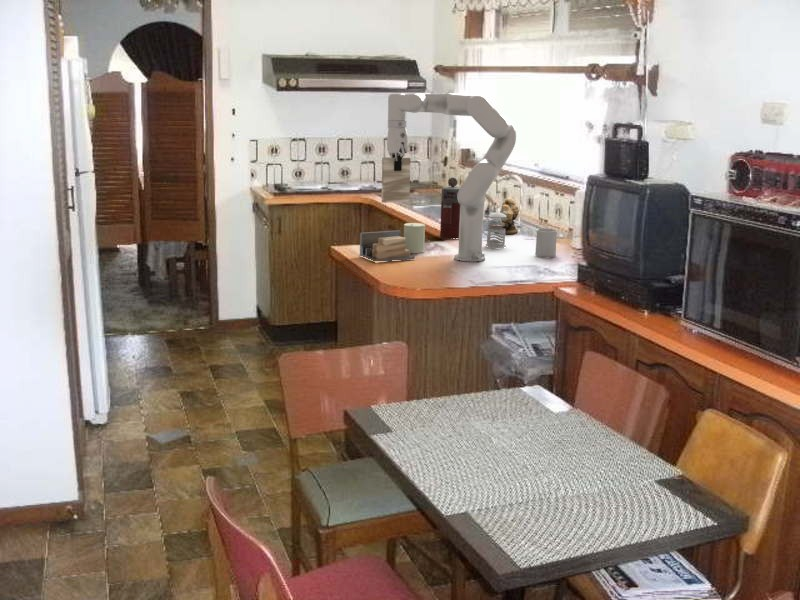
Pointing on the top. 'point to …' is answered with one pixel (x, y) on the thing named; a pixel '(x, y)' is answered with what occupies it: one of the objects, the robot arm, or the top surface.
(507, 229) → the tan bust sculpture
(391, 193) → the birch panel
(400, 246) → the offcut middle
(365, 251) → the steel rack
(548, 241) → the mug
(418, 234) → the can
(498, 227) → the french press
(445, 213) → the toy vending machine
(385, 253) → the offcut bottom
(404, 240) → the offcut top
